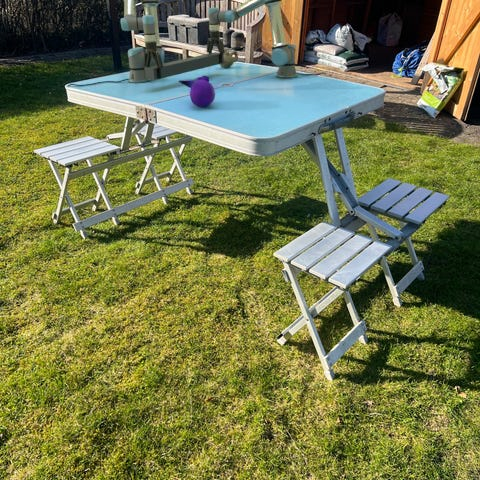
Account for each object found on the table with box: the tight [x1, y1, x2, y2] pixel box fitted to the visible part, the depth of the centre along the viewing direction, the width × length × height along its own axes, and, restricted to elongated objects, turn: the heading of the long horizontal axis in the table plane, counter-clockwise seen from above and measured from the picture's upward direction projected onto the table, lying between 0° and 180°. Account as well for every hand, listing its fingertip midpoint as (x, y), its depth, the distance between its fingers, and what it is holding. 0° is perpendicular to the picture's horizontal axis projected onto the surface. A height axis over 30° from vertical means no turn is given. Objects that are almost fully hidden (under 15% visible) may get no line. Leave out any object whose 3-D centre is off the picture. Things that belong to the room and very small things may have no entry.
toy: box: [178, 75, 216, 109], centre depth 267 cm, size 16×18×27 cm
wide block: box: [144, 51, 224, 81], centre depth 326 cm, size 74×9×7 cm, turn 143°
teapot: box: [219, 48, 239, 69], centre depth 378 cm, size 21×12×15 cm, turn 120°
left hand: (154, 77), depth 305 cm, fingers closed on wide block, 9 cm apart
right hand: (216, 62), depth 349 cm, fingers closed on wide block, 9 cm apart
